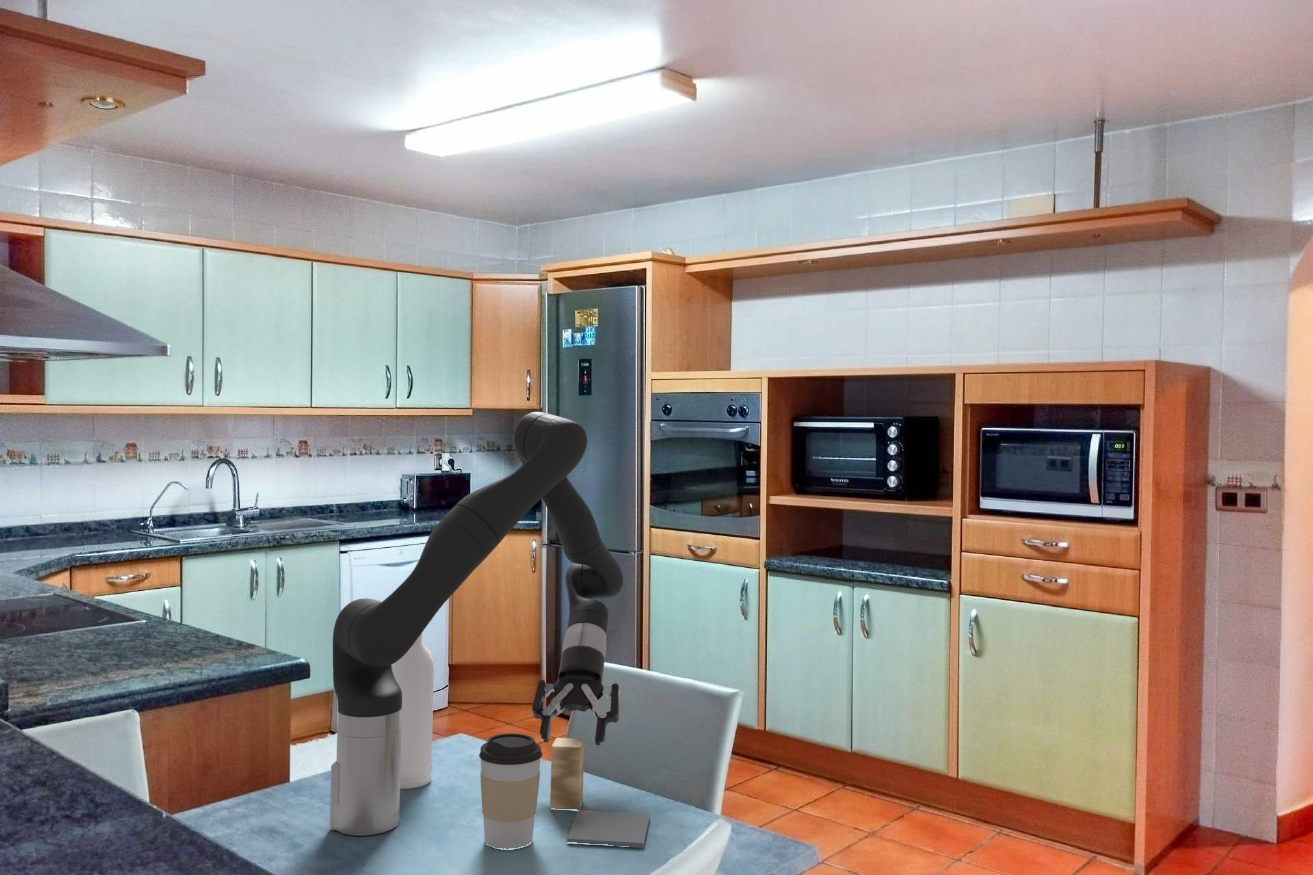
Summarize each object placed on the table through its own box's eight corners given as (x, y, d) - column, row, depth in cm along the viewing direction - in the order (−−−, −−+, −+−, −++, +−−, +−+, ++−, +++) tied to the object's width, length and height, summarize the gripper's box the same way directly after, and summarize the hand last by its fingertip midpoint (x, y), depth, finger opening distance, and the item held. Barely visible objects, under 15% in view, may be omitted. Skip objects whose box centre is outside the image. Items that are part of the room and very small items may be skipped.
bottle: (394, 771, 175) (398, 597, 175) (438, 774, 174) (443, 599, 174) (375, 787, 167) (380, 604, 167) (421, 791, 166) (426, 607, 166)
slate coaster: (567, 844, 146) (567, 838, 146) (578, 815, 157) (578, 810, 157) (643, 848, 145) (643, 842, 145) (649, 819, 156) (649, 814, 156)
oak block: (550, 809, 159) (551, 746, 159) (555, 799, 164) (556, 737, 164) (578, 811, 159) (580, 747, 159) (582, 800, 163) (584, 738, 163)
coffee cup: (510, 823, 153) (513, 724, 153) (553, 840, 147) (555, 737, 147) (463, 841, 146) (466, 737, 146) (506, 859, 140) (509, 751, 140)
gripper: (540, 642, 175) (525, 728, 163) (623, 645, 174) (613, 732, 162) (545, 665, 180) (531, 750, 169) (625, 669, 179) (616, 754, 168)
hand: (571, 741), depth 165 cm, fingers open, 8 cm apart
